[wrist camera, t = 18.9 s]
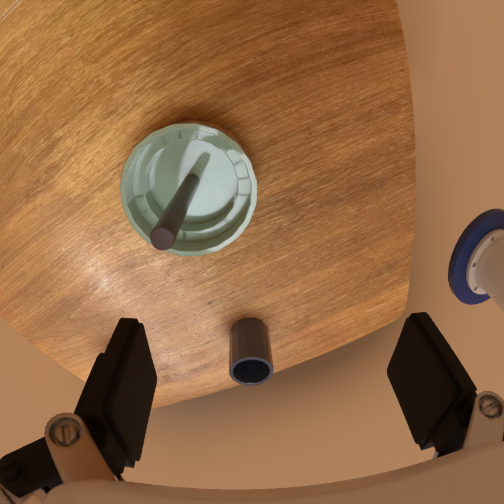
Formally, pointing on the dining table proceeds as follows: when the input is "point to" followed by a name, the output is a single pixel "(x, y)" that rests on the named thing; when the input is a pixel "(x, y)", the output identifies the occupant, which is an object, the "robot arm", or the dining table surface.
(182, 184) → the stirring stick
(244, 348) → the utensil pot
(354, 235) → the dining table surface
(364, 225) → the dining table surface
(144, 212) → the bowl
